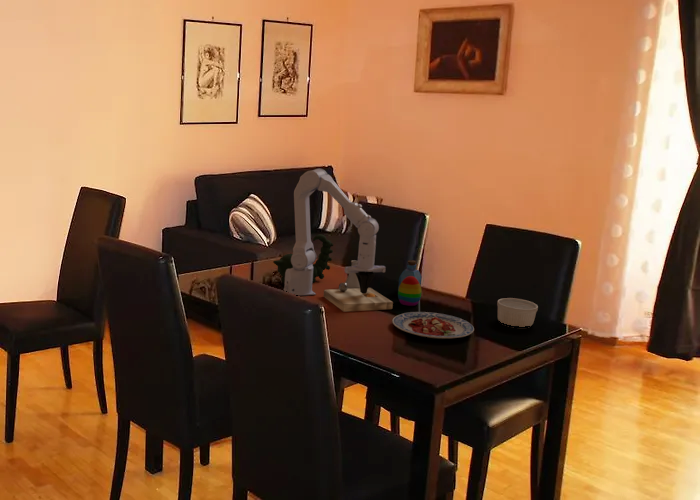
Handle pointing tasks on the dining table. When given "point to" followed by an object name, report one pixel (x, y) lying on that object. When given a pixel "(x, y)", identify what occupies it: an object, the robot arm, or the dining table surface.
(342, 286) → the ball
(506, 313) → the ramekin
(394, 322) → the ceramic plate
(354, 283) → the flask
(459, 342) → the dining table surface
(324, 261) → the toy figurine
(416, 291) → the decorative egg
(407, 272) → the perfume bottle
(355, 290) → the board
